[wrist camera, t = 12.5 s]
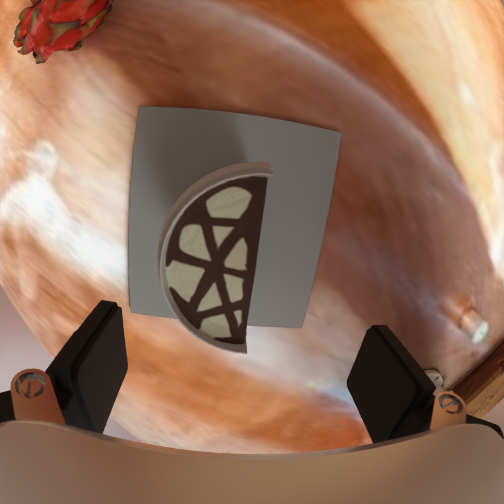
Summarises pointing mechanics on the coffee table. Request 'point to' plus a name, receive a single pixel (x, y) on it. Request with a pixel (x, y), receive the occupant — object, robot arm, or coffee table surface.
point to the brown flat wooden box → (484, 385)
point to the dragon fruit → (58, 25)
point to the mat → (275, 209)
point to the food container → (214, 253)
